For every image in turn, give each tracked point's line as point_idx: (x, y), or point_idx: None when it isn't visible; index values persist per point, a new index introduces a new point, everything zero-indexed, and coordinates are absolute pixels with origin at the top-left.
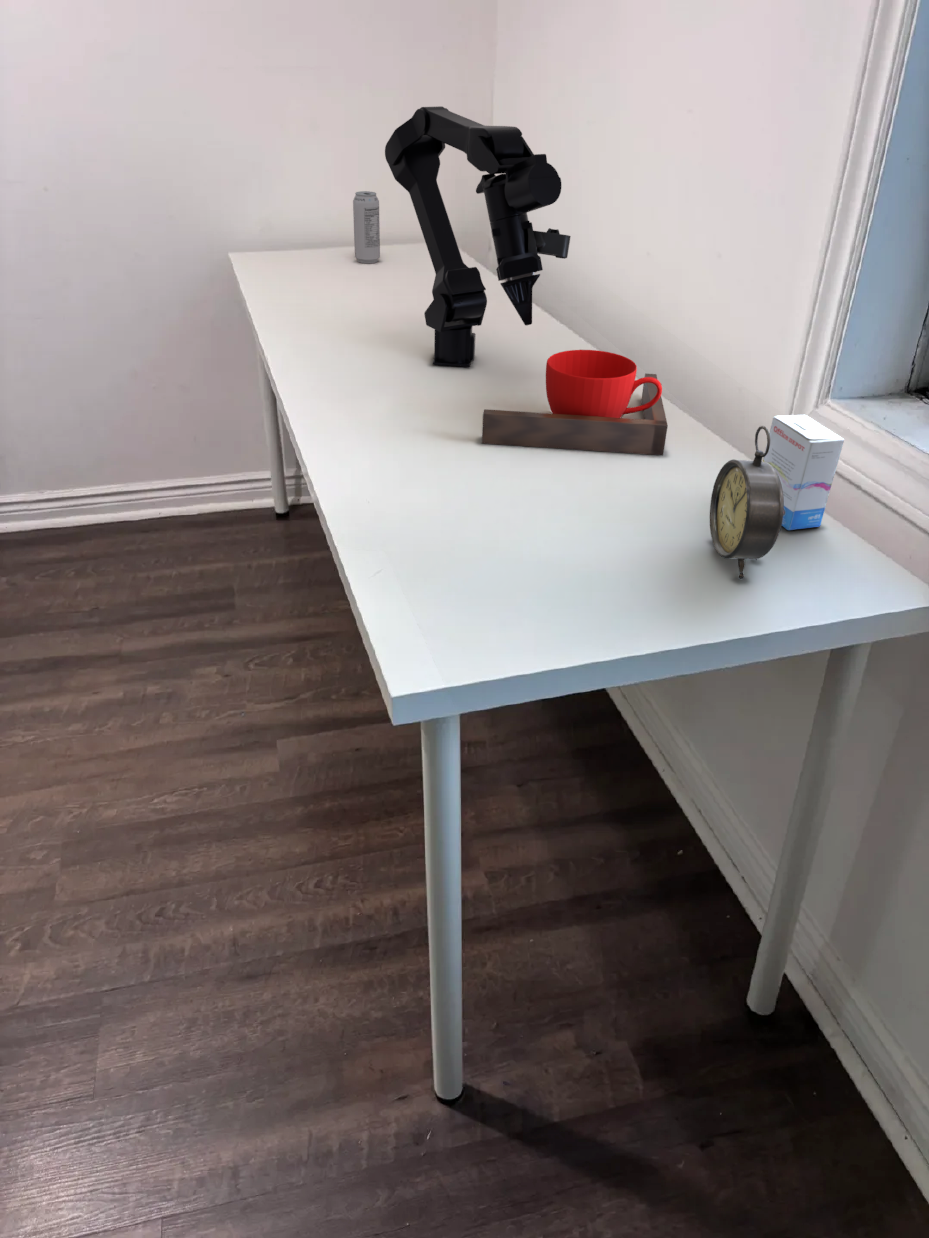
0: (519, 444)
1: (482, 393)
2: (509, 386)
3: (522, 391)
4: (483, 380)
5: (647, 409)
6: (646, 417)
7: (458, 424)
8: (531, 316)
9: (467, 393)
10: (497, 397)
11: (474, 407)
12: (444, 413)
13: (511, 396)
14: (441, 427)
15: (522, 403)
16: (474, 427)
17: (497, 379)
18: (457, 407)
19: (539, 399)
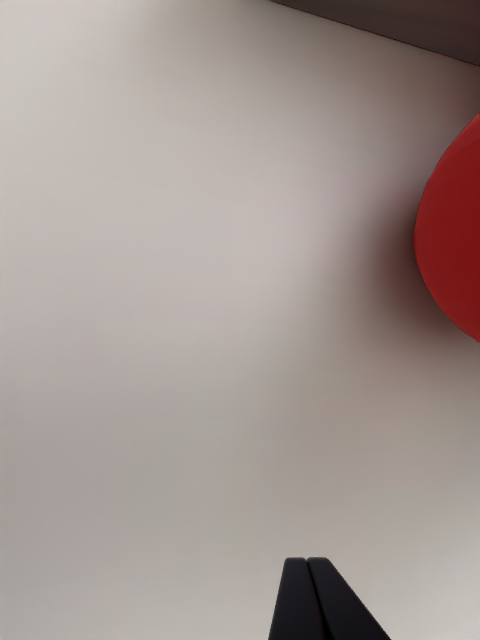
0: None
1: (205, 558)
2: (121, 473)
3: (171, 423)
4: (60, 579)
5: (467, 20)
6: (451, 36)
7: (444, 580)
8: (359, 604)
9: (210, 607)
10: (239, 504)
11: None
12: None
13: (225, 458)
14: (462, 617)
15: (285, 418)
16: (459, 536)
17: (40, 528)
18: None
19: (245, 362)
